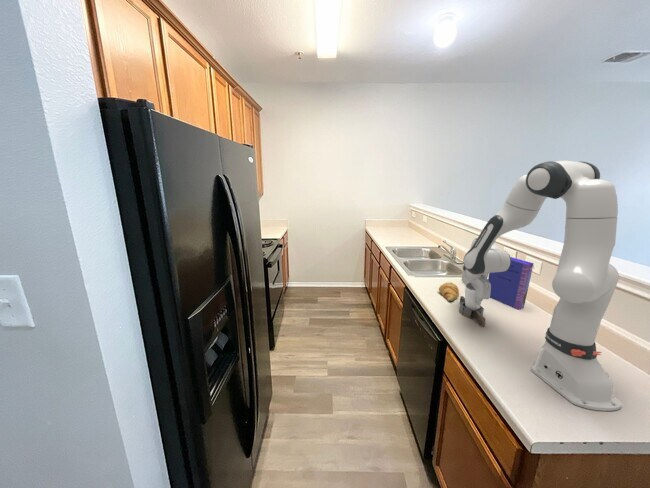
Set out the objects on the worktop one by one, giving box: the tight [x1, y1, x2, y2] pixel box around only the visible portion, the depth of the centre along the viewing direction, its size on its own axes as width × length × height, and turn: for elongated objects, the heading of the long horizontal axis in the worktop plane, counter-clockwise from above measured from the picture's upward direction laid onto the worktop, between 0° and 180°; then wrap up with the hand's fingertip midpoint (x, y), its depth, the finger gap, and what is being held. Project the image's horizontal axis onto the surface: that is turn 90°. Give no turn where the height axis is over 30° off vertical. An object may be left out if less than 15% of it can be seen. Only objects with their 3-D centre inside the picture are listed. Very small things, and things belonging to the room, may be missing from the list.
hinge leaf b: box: [459, 295, 485, 315], centre depth 132 cm, size 16×10×4 cm, turn 177°
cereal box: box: [487, 256, 534, 311], centre depth 140 cm, size 17×5×24 cm, turn 24°
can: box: [464, 283, 480, 310], centre depth 127 cm, size 6×6×12 cm
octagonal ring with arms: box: [458, 306, 486, 328], centre depth 126 cm, size 16×10×4 cm, turn 177°
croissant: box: [438, 282, 460, 302], centre depth 150 cm, size 21×10×8 cm, turn 162°
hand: (472, 299), depth 128 cm, fingers open, 8 cm apart
